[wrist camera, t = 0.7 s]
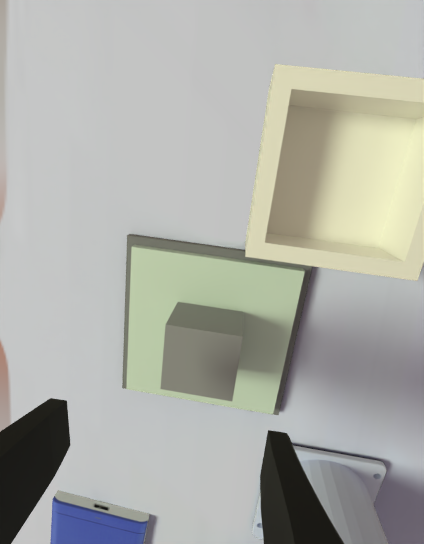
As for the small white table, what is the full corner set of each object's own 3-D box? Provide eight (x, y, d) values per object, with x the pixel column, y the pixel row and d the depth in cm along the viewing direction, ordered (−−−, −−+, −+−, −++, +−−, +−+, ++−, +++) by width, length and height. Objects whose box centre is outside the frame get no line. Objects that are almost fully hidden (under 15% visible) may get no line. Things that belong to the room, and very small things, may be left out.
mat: (277, 410, 21) (278, 415, 21) (124, 384, 22) (122, 388, 22) (312, 259, 18) (313, 261, 17) (129, 234, 19) (127, 235, 18)
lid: (272, 407, 21) (277, 453, 17) (129, 383, 21) (107, 422, 18) (302, 268, 18) (316, 290, 14) (135, 244, 18) (109, 260, 15)
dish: (384, 260, 17) (417, 280, 14) (245, 241, 18) (245, 256, 15) (432, 105, 15) (484, 84, 12) (269, 88, 16) (275, 64, 12)
